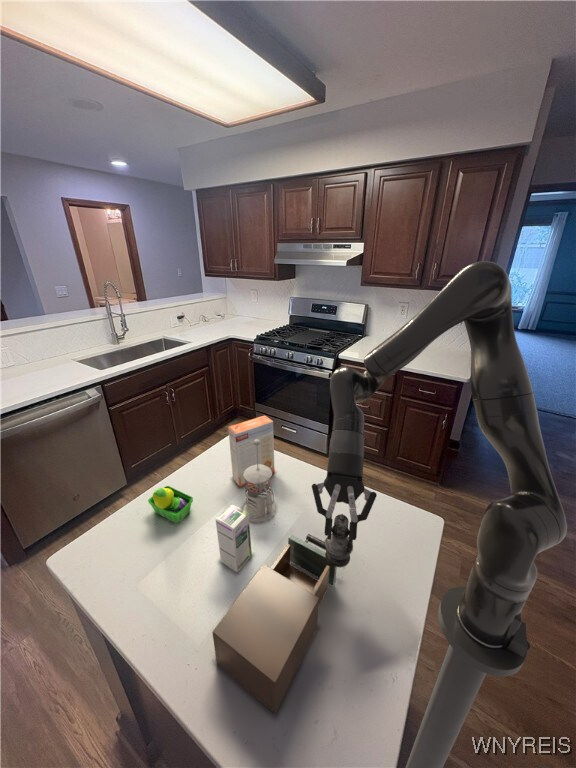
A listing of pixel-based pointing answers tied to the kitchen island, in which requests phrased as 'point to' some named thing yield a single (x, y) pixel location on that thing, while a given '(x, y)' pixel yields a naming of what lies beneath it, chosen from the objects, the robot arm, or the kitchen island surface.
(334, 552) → the stone chess piece
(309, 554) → the drawer
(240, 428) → the cracker box
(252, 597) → the cabinet
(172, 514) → the fruit basket
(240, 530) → the syrup box
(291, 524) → the kitchen island surface
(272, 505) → the french press
